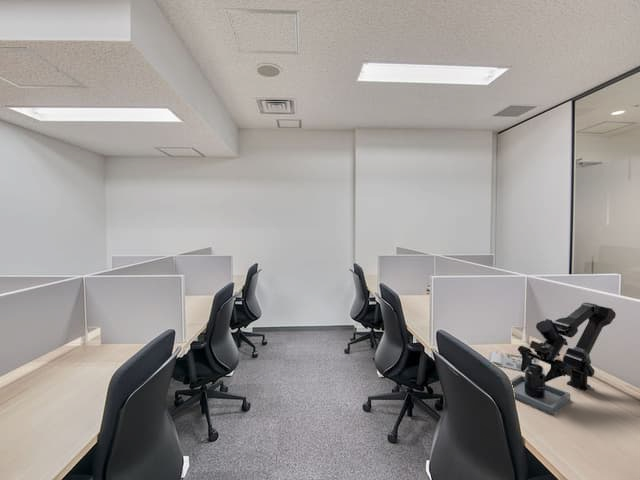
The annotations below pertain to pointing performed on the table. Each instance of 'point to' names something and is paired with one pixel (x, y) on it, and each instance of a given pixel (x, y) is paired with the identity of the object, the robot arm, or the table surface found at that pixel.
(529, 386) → the supplement bottle
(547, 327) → the robot arm
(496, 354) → the office telephone
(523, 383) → the tray
